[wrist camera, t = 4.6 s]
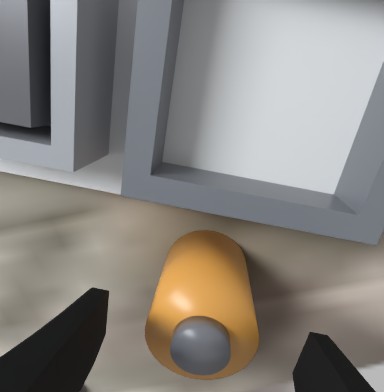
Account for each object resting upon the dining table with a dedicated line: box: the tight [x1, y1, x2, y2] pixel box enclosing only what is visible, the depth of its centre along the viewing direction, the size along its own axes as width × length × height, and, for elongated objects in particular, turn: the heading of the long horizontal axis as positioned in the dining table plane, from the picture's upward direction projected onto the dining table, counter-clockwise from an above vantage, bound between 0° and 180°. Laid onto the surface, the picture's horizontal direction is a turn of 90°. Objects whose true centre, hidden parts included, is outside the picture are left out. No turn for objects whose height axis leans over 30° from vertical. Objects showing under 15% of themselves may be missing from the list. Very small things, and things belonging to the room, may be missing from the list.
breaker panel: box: [0, 0, 384, 245], centre depth 8 cm, size 10×22×5 cm, turn 80°
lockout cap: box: [145, 230, 259, 380], centre depth 11 cm, size 4×4×5 cm
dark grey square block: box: [0, 0, 51, 128], centre depth 7 cm, size 3×3×2 cm
